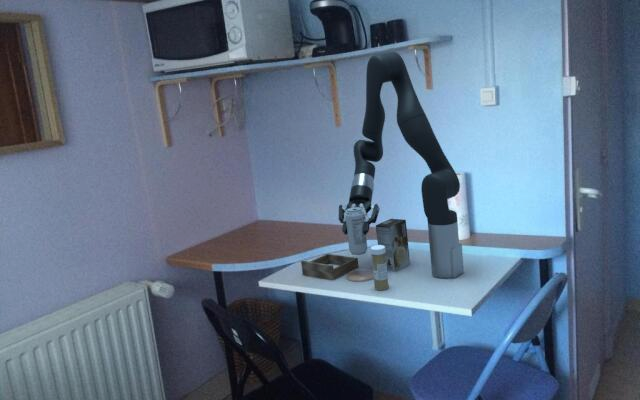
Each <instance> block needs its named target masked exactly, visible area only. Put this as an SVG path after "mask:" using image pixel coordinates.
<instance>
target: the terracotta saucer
mask: <svg viewBox="0 0 640 400" xmlns="http://www.w3.org/2000/svg"><path fill="white" fill-rule="evenodd" d="M345 278H346V279H347V280H348V281H349V282H353V283H355V282H357V283H359V282H361V283H362V282H367V281H371V280H374V275H373V269H358V270H356V269H355V270H353V271H351V272H349V273H347V274H346V277H345Z"/></svg>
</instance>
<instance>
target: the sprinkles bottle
mask: <svg viewBox="0 0 640 400" xmlns="http://www.w3.org/2000/svg"><path fill="white" fill-rule="evenodd" d="M385 252H386V250H385V246H383V245H378V244H375V245H372V246H371V247H370V254H371V261H372V262H371V263H372V270H373V275H374V279H373V282H374V289H375V290H377V291H384V290H388V289H389V288H390V285H389V281H388V279H389V278H388V271H387V263H386V255H385V254H386V253H385Z"/></svg>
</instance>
